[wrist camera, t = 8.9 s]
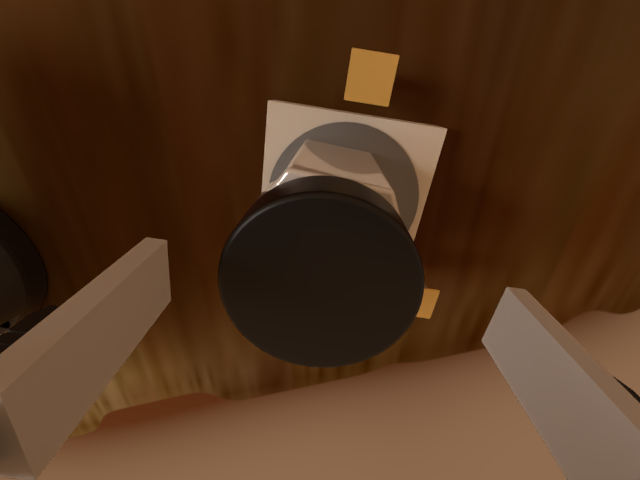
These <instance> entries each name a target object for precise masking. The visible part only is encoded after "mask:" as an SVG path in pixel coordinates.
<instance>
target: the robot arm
mask: <svg viewBox="0 0 640 480" xmlns="http://www.w3.org/2000/svg"><path fill="white" fill-rule="evenodd" d="M46 291H47V279H46V273H45V270H44V266H43V264H42V261H41V259H40V257H39V255H38V253H37V251H36V249H35V248H34V246H33V245H32V243H31V242H30V240H29V239H28V238H27V236H26V235H25V234H24V233H23V232H22V231H21V229H20V228H19V227H18V226H17V225H16V224H15V223H14V222H13V221H12V220H11V219H9V218H8V217H7V216H6V215H5V214H4V213H2V212H1V211H0V334H1V335H0V477H5V478H15V479H25V480H36V479H37V478H38V477H39V475H40V474H41V473H42V471H43V470H44V469H45V467H46V466H47V465H48V463H49V462H50V461H51V459H52V458H53V457H54V456H55V454H56V453H57V451H58V450H59V449H60V447H61V446H62V445H63V443H64V442H65V441H66V440H67V438H68V437H69V436H70V434H71V433H72V432H73V430H74V429H75V428H76V426H77V425H78V424H79V422H80V421H81V420H82V418H83V417H84V416H85V414H86V413H87V412H88V410H89V409H90V408H91V406H92V405H93V404H94V402H95V401H96V400H97V398H98V397H99V396H100V394H101V393H102V392H103V390H104V389H105V388H106V386H107V385H108V384H109V382H110V381H111V380H112V378H113V377H114V376H115V374H116V373H117V372H118V370H119V369H120V368H121V366H122V365H123V364H124V362H125V361H126V360H127V358H128V357H129V356H130V354H131V353H132V352H133V350H134V349H135V348H136V346H137V345H138V344H139V342H140V341H141V340H142V338H143V337H144V336H145V334H146V333H147V332H148V330H149V329H150V328H151V326H152V325H153V324H154V322H155V321H156V320H157V318H158V317H159V316H160V314H161V313H162V312H163V310H164V309H165V308H166V306H167V305H168V304H169V302H170V301H171V291H170V276H169V262H168V247H167V240H163V239H156V238H149V237H146V238H145V239H143V240H142V241H141V242H140V243H138V244H137V245H136V246H135V247H133V248H132V249H131V250H130V251H128V252H127V253H126V254H125V255H123V256H122V257H121V258H120V259H118V260H117V261H116V262H115V263H113V264H112V265H111V266H110V267H108V268H107V269H106V270H105V271H103V272H102V273H101V274H100V275H98V276H97V277H96V278H95V279H93V280H92V281H91V282H90V283H88V284H87V285H86V286H85V287H83V288H82V289H81V290H80V291H78V292H77V293H76V294H75V295H73V296H72V297H71V298H70V299H68V300H67V301H66V302H65V303H63V304H62V305H61V306H60V307H59V306H51V305H49V306H47V307H45V308H42V309H40V310H38V309H39V308H40V307H41V305H42V303H43V301H44V299H45V296H46ZM37 310H38V311H37ZM5 332H7V333H5ZM2 333H3V334H2ZM481 341H482V342H483V344H484V346H485V347H486V349H487V350H488V352H489V354H490V355H491V357H492V358H493V360H494V362H495V363H496V365H497V367H498V368H499V370H500V371H501V373H502V374H503V376H504V378H505V380H506V381H507V383H508V384H509V386H510V388H511V389H512V391H513V392H514V394H515V396H516V397H517V399H518V401H519V402H520V404H521V405H522V407H523V409H524V410H525V412H526V414H527V415H528V417H529V418H530V420H531V422H532V423H533V425H534V427H535V428H536V430H537V431H538V433H539V435H540V436H541V438H542V439H543V441H544V443H545V444H546V446H547V448H548V449H549V451H550V452H551V454H552V456H553V457H554V459H555V460H556V462H557V464H558V465H559V467H560V468H561V470H562V472H563V473H564V475H565V476H566V478H567V480H640V397H639V396H638V395H637V394H636V393H635V392H634V391H633V390H631V389H630V388H628V387H627V386H626V385H624V384H623V383H622V382H620V381H619V380H618V379H616V378H615V377H613V376H612V375H611V374H610V373H609V372H608V371H607V370H606V369H605V368H604V367H603V366H602V365H601V364H600V363H599V362H598V361H597V360H596V359H595V358H594V357H593V356H592V355H591V354H590V353H589V352H588V351H587V350H586V349H585V348H584V347H583V346H582V345H581V344H580V343H579V342H578V341H577V340H576V339H575V338H574V337H573V336H572V335H571V334H570V333H569V332H568V331H567V330H566V329H565V328H564V327H563V326H562V325H561V324H560V323H559V322H558V321H557V320H556V319H555V318H554V317H553V316H552V315H551V314H550V313H549V312H548V311H547V310H546V309H545V308H544V307H543V306H542V305H541V304H540V303H539V302H538V301H537V300H536V299H535V298H534V297H533V296H532V295H531V294H530V293H529V292H528V291H527V290H526V289H520V288H512V287H506V289H505V291H504V294H503V296H502V298H501V300H500V302H499V304H498V306H497V308H496V311H495V313H494V315H493V317H492V319H491V321H490V323H489V325H488V327H487V330H486V332H485V334H484V336H483V338H482V340H481Z"/></svg>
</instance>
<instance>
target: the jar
mask: <svg viewBox="0 0 640 480" xmlns="http://www.w3.org/2000/svg"><path fill="white" fill-rule="evenodd" d="M218 287H219V292H220V297H221V300H222V303H223V306H224V308H225V310H226V312H227V314H228V316H229V318H230V319H231V321H232V322H233V324H234V325H235V326H236V328H237V329H238V330H239V331H240V332H241V334H242V335H243V336H244V337H246V338H247V339H248V340H249V341H250V342H251V343H252V344H254V345H255V346H256V347H258V348H259V349H261V350H262V351H264V352H266V353H268V354H270V355H272V356H274V357H276V358H278V359H281V360H283V361H286V362H290V363H293V364H297V365H302V366H308V367H340V366H346V365H351V364H355V363H358V362H361V361H364V360H367V359H369V358H372V357H374V356H376V355H378V354H379V353H381V352H383V351H384V350H386V349H387V348H389V347H390V346H391V345H393V344H394V343H395V342H396V341H397V340H399V339H400V337H401V336H402V335H403V334H404V333H405V332H406V331H407V329H408V328H409V327H410V326H411V324H412V322H413V321H414V319H415V317H416V315H417V313H418V311H419V308H420V306H421V303H422V298H423V294H424V270H423V264H422V260H421V257H420V254H419V252H418V249H417V247H416V245H415V243H414V241H413V239H412V237H411V235H410V234H409V232H408V230H407V228H406V226H405V224H404V222H403V220H402V219H401V216H400V212H399V208H398V204H397V200H396V196H395V192H394V190H393V189H392V187H391V185H390V184H389V182H388V180H387V179H386V177H385V175H384V174H383V172H382V170H381V169H380V167H379V165H378V163H377V162H376V160H375V158H374V157H373V155H372V154H371V153H370V152H365V151H360V150H356V149H351V148H346V147H342V146H337V145H332V144H328V143H323V142H318V141H314V140H309V139H307V140H305V141H304V142H303V143H302V144H301V146H300V147H299V148H298V149H297V150H296V152H295V153H294V154H293V155H292V156H291V158H290V159H289V160H288V161H287V162H286V164H285V165H284V166H283V167H282V169H281V170H280V171H279V172H278V173H277V175H276V176H275V177H274V178H273V179H272V181H271V182H270V183H269V184H268V185H267V187H266V188H265V189H264V191H263V192H262V193H261V195H260V196H259V197H258V199H257V200H256V201H255V203H254V204H253V205H252V206H251V207H250V209H249V210H248V211H247V213H246V214H245V215H244V217H243V218H242V219H241V221H240V222H239V223H238V225H237V226H236V227H235V229H234V230H233V231H232V233H231V234H230V236H229V238H228V239H227V241H226V243H225V246H224V248H223V251H222V254H221V257H220V261H219V267H218Z"/></svg>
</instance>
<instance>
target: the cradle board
mask: <svg viewBox="0 0 640 480" xmlns="http://www.w3.org/2000/svg"><path fill="white" fill-rule="evenodd" d="M399 56H400V55H394V54H388V53H382V52H376V51H370V50H364V49H358V48H352V51H351V58H350V64H349V70H348V76H347V82H346V89H345V95H344V100H348V101H354V102H361V103H367V104H373V105H379V106H386V107H388V106H389V102H390V97H391V92H392V88H393V83H394V79H395V74H396V70H397V65H398V60H399ZM446 132H447V129H446V128H443V127H440V126H437V125H431V124H425V123H418V122H412V121H406V120H399V119H393V118H387V117H380V116H374V115H368V114H362V113H355V112H349V111H343V110H336V109H330V108H324V107H317V106H311V105H305V104H299V103H292V102H286V101H280V100H268V106H267V120H266V135H265V150H264V165H263V179H262V192H263V191H264V189H265V188H266V187H267V185H268V184H269V183H270V182H271V181H272V179H273V178H274V177H275V176H276V175H277V173H278V172H279V171H280V170H281V169H282V167H283V166H284V165H285V164H286V162H287V161H288V160H289V159H290V158H291V156H292V155H293V154H294V153H295V152H296V150H297V149H298V148H299V147H300V146H301V144H302V143H303V142H304V141H305V140H307V139H309V140H314V141H318V142H323V143H328V144H332V145H337V146H342V147H346V148H351V149H356V150H360V151H365V152H370V153H371V154H372V155H373V157H374V158H375V160H376V162H377V163H378V165H379V167H380V169H381V170H382V172H383V174H384V175H385V177H386V179H387V180H388V182H389V184H390V185H391V187H392V189H393V190H394V192H395V196H396V200H397V204H398V208H399V212H400V216H401V219H402V220H403V222H404V224H405V226H406V228H407V230H408V232H409V234H410V235H411V237H412V239H413V241H414V239H415V236H416V232H417V229H418V226H419V222H420V219H421V216H422V212H423V209H424V206H425V202H426V199H427V196H428V192H429V189H430V186H431V182H432V179H433V176H434V172H435V169H436V166H437V162H438V159H439V156H440V152H441V149H442V146H443V142H444V139H445V136H446ZM439 293H440V290H435V289H429V288H427V286H426V284H425V282H424V294H423V298H422V303H421V306H420V308H419V311H418V313H417V315H416V317H420V318H427V319H430V317H431V315H432V312H433V309H434V307H435V304H436V301H437V298H438V296H439Z"/></svg>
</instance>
